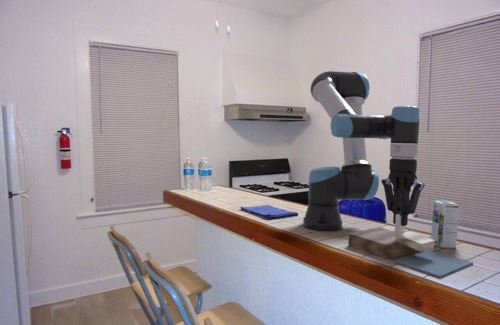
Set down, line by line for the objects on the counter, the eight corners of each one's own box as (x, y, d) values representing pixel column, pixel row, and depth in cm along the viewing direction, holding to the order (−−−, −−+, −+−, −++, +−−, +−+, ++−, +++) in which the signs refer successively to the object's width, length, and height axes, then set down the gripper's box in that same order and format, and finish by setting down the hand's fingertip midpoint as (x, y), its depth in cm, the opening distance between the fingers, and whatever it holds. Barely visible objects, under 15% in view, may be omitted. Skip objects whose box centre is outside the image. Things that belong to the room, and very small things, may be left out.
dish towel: (268, 221, 142) (268, 214, 142) (239, 210, 162) (239, 204, 162) (299, 217, 152) (299, 210, 151) (268, 207, 171) (268, 201, 171)
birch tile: (394, 241, 101) (395, 234, 101) (408, 237, 105) (409, 231, 105) (420, 251, 95) (421, 243, 94) (433, 247, 99) (435, 240, 98)
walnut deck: (348, 245, 110) (348, 233, 110) (378, 238, 119) (379, 227, 119) (393, 260, 97) (394, 247, 97) (423, 251, 106) (424, 238, 105)
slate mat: (392, 262, 96) (392, 260, 96) (426, 251, 106) (427, 249, 106) (439, 278, 85) (440, 275, 85) (472, 264, 95) (473, 262, 95)
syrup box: (429, 242, 115) (432, 200, 114) (447, 242, 115) (450, 200, 114) (438, 247, 110) (441, 203, 109) (457, 248, 110) (460, 203, 109)
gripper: (376, 157, 105) (373, 232, 107) (417, 159, 95) (413, 242, 96) (391, 157, 110) (387, 229, 111) (431, 159, 99) (427, 239, 100)
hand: (399, 235), depth 104 cm, fingers closed
